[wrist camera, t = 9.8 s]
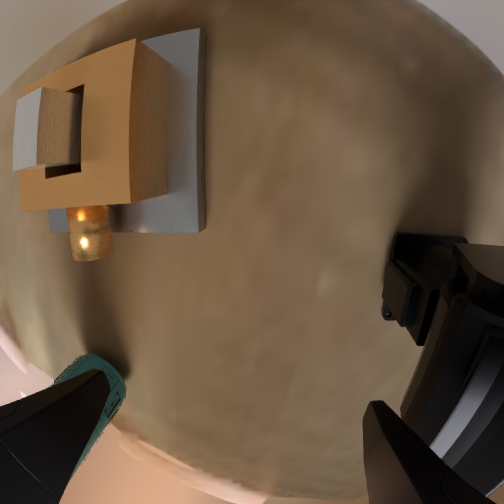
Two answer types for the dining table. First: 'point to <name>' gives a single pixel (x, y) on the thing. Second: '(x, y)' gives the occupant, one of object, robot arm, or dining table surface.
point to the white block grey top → (47, 129)
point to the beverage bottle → (113, 400)
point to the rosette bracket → (128, 145)
